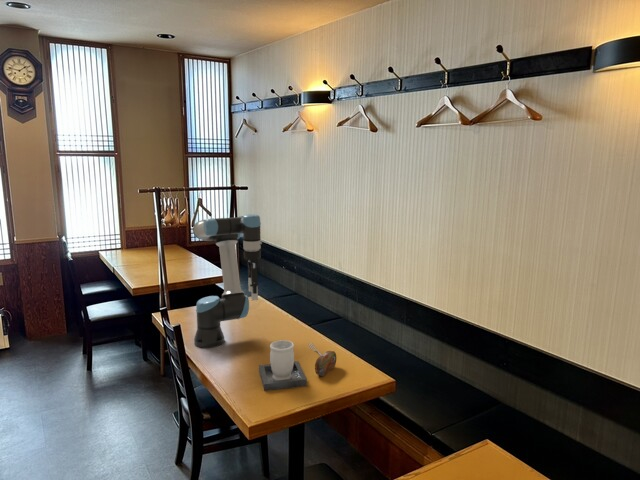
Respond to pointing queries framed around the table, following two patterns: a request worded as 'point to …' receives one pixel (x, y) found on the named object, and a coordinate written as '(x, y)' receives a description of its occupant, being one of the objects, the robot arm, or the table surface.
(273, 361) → the jar
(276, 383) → the dark grey square tray
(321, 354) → the fork
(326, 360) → the tin
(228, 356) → the table surface
